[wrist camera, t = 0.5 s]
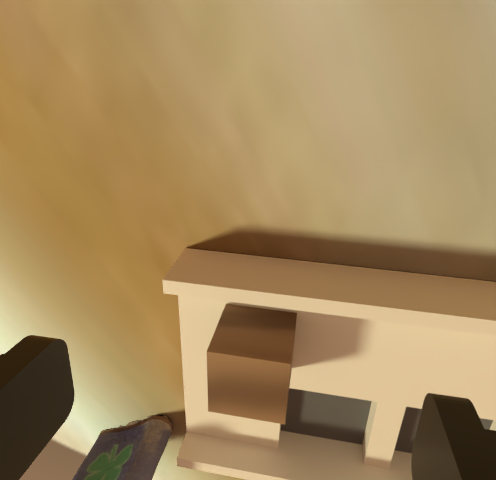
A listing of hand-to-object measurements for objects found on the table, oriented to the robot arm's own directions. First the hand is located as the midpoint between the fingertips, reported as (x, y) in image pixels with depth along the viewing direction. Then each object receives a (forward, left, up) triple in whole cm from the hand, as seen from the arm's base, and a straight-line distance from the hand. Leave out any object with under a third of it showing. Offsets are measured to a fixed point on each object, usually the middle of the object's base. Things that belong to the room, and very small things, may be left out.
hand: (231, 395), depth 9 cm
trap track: (+16, +8, -19) cm, 26 cm away
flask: (+28, -14, -19) cm, 36 cm away
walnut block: (+12, -2, -17) cm, 21 cm away
